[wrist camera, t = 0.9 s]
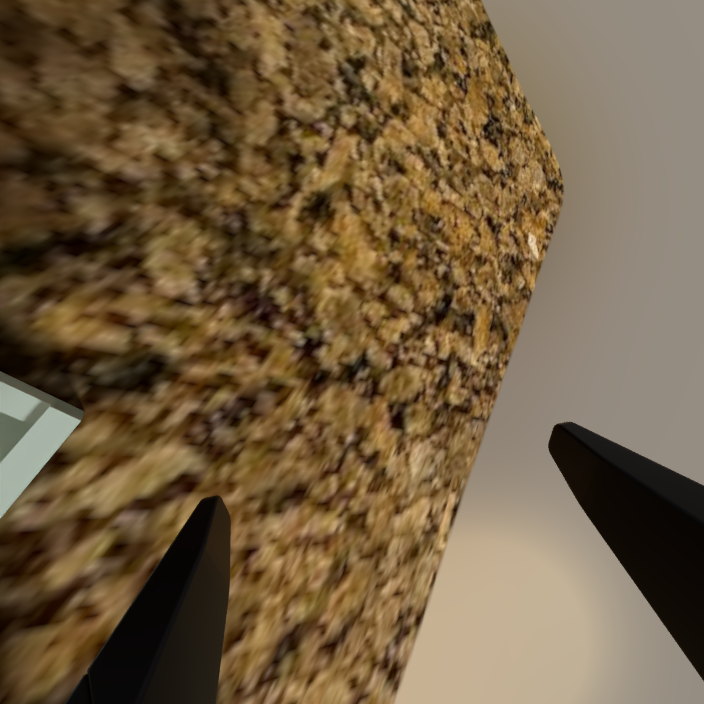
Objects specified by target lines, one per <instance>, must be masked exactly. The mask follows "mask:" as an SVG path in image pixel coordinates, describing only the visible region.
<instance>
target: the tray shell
mask: <svg viewBox="0 0 704 704" xmlns="http://www.w3.org/2000/svg"><path fill="white" fill-rule="evenodd" d="M84 412H85V411H83V410H80V409H78V408H76V407H74V406H72V405H70V404H68V403H66V402H64V401H62V400H60V399H57V398H55V397H53V396H51V395H49V394H47V393H45V392H43V391H41V390H39V389H37V388H34V387H32V386H30V385H28V384H26V383H24V382H22V381H20V380H18V379H16V378H13V377H11V376H9V375H7V374H5V373H3V372H1V371H0V518H1V517H2V516H3V515H4V513H5V512H6V511H7V510H8V508H9V507H10V506H11V505H12V504H13V502H14V501H15V500H16V499H17V498H18V496H19V495H20V494H21V493H22V492H23V490H24V489H25V488H26V487H27V485H28V484H29V483H30V482H31V481H32V479H33V478H34V477H35V476H36V475H37V473H38V472H39V471H40V470H41V469H42V467H43V466H44V465H45V464H46V463H47V461H48V460H49V459H50V458H51V456H52V455H53V454H54V453H55V452H56V450H57V449H58V448H59V447H60V446H61V444H62V443H63V442H64V441H65V440H66V438H67V437H68V436H69V435H70V433H71V432H72V431H73V430H74V429H75V427H76V426H77V425H78V424H79V423H80V421H81V420H82V417H83V415H84Z"/></svg>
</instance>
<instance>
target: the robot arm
mask: <svg viewBox="0 0 704 704" xmlns="http://www.w3.org/2000/svg"><path fill="white" fill-rule="evenodd" d="M548 448H549V452H550V454H551V455H552V457H553V459H554V461H555V463H556V464H557V466H558V468H559V470H560V471H561V473H562V475H563V477H564V478H565V480H566V482H567V484H568V485H569V487H570V489H571V491H572V492H573V494H574V496H575V498H576V499H577V501H578V502H579V504H580V506H581V507H582V509H583V510H584V511H585V513H586V515H587V516H588V517H589V519H590V520H591V522H592V523H593V524H594V526H595V527H596V529H597V530H598V532H599V533H600V534H601V536H602V537H603V539H604V540H605V541H606V543H607V544H608V546H609V547H610V549H611V550H612V551H613V553H614V554H615V556H616V557H617V558H618V560H619V561H620V563H621V564H622V566H623V567H624V568H625V570H626V571H627V573H628V574H629V576H630V577H631V578H632V580H633V581H634V583H635V584H636V586H637V587H638V588H639V590H640V591H641V593H642V594H643V596H644V597H645V598H646V600H647V601H648V603H649V604H650V605H651V607H652V608H653V610H654V611H655V612H656V614H657V615H658V617H659V618H660V620H661V621H662V623H663V624H664V625H665V627H666V628H667V630H668V631H669V632H670V634H671V635H672V637H673V638H674V640H675V641H676V642H677V644H678V645H679V647H680V648H681V650H682V651H683V652H684V654H685V655H686V657H687V658H688V659H689V661H690V662H691V663H692V665H693V666H694V668H695V669H696V671H697V672H698V674H699V675H700V677H701V678H702V679H703V681H704V486H703V485H701V484H699V483H697V482H695V481H693V480H691V479H689V478H687V477H685V476H683V475H681V474H679V473H676V472H675V471H672V470H670V469H668V468H666V467H664V466H662V465H660V464H658V463H656V462H654V461H652V460H650V459H648V458H646V457H644V456H641V455H639V454H637V453H635V452H633V451H631V450H629V449H627V448H625V447H623V446H621V445H619V444H617V443H614V442H612V441H610V440H608V439H606V438H604V437H602V436H600V435H598V434H596V433H594V432H592V431H590V430H588V429H586V428H583V427H581V426H579V425H577V424H575V423H573V422H564V423H559V424H556V425H555V426H554V428H553V431H552V434H551V437H550V440H549V444H548ZM230 535H231V520H230V515H229V512H228V510H227V508H226V506H225V504H224V502H223V500H222V498H221V497H220V496H218V495H216V496H211V497H207V498H204V499H202V500H201V501H200V502H199V504H198V505H197V507H196V508H195V510H194V511H193V513H192V514H191V516H190V517H189V519H188V520H187V522H186V523H185V525H184V526H183V528H182V529H181V531H180V532H179V534H178V535H177V537H176V538H175V540H174V541H173V543H172V544H171V546H170V547H169V549H168V550H167V552H166V553H165V555H164V556H163V558H162V559H161V561H160V562H159V564H158V565H157V567H156V568H155V570H154V571H153V573H152V574H151V576H150V577H149V579H148V580H147V582H146V583H145V585H144V586H143V588H142V589H141V591H140V592H139V594H138V595H137V597H136V598H135V600H134V601H133V603H132V604H131V606H130V607H129V609H128V610H127V612H126V613H125V615H124V616H123V618H122V619H121V621H120V622H119V624H118V625H117V627H116V628H115V630H114V631H113V633H112V634H111V636H110V637H109V639H108V640H107V642H106V643H105V645H104V646H103V648H102V649H101V651H100V652H99V654H98V655H97V657H96V658H95V660H94V661H93V663H92V664H91V665H90V667H89V668H88V671H87V673H88V674H85V675H84V676H83V677H82V679H81V680H80V682H79V683H78V685H77V686H76V688H75V689H74V691H73V692H72V694H71V695H70V697H69V698H68V700H67V701H66V703H65V704H216V697H217V689H218V680H219V672H220V664H221V656H222V647H223V639H224V631H225V623H226V615H227V606H228V598H229V586H230Z"/></svg>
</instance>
